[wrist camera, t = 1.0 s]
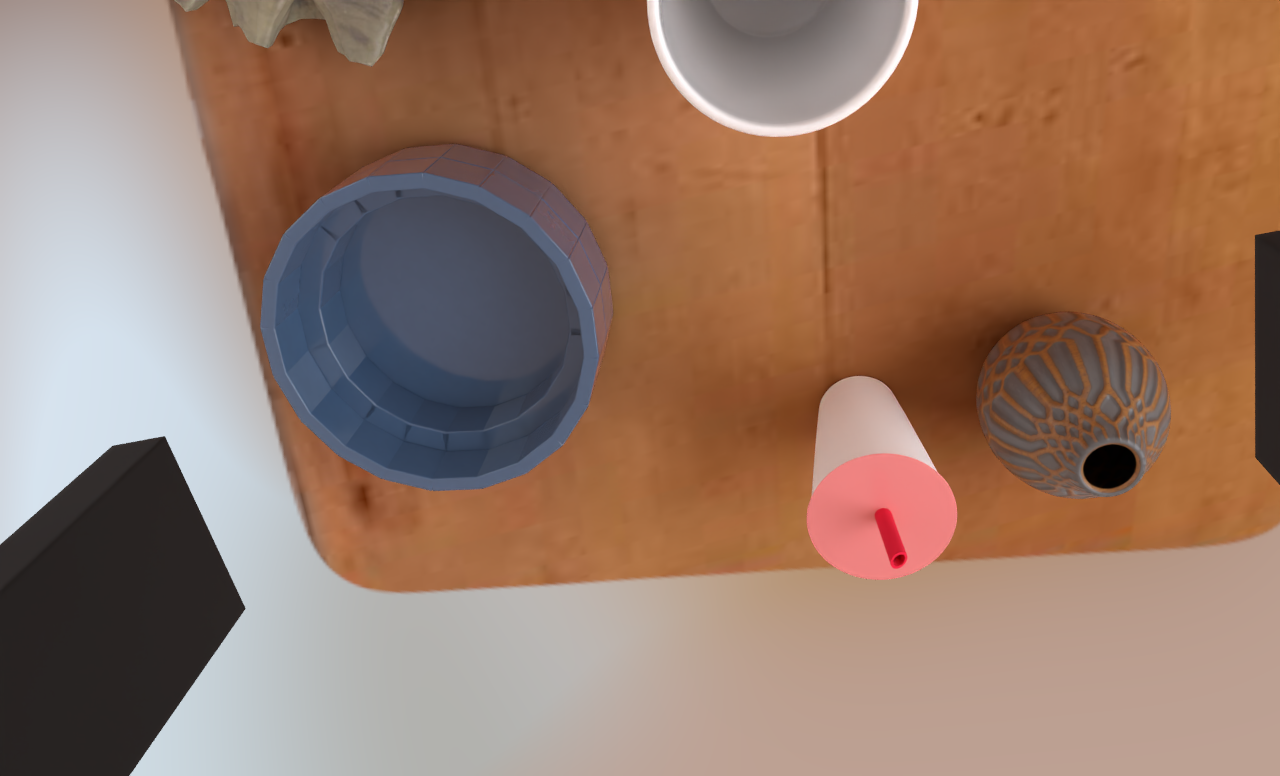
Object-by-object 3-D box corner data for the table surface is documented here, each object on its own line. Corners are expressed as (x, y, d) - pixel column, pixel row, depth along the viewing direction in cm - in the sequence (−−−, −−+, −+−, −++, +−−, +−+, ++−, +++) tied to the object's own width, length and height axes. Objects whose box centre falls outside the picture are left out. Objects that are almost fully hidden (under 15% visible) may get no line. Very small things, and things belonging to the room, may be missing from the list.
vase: (1046, 467, 47) (1107, 584, 39) (928, 379, 46) (967, 481, 38) (1168, 354, 44) (1260, 455, 36) (1046, 257, 43) (1113, 340, 35)
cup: (930, 360, 45) (988, 507, 35) (909, 469, 48) (957, 639, 37) (804, 349, 46) (822, 491, 35) (789, 458, 48) (802, 623, 37)
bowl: (326, 108, 43) (272, 136, 38) (642, 184, 43) (629, 221, 38) (301, 392, 49) (251, 449, 44) (581, 458, 49) (562, 522, 44)
